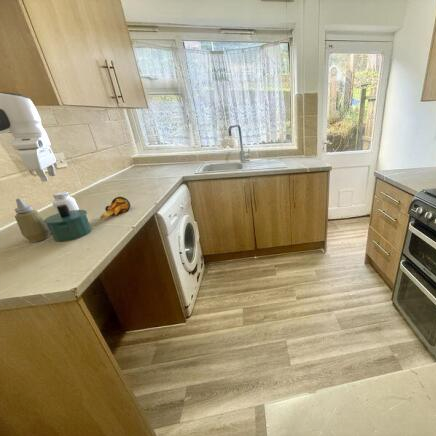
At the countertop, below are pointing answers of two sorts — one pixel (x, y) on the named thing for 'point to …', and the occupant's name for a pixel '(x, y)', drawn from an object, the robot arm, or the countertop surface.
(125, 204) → the chicken drumstick
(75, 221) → the pot
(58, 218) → the pot lid
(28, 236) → the squeeze bottle
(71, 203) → the pill bottle
